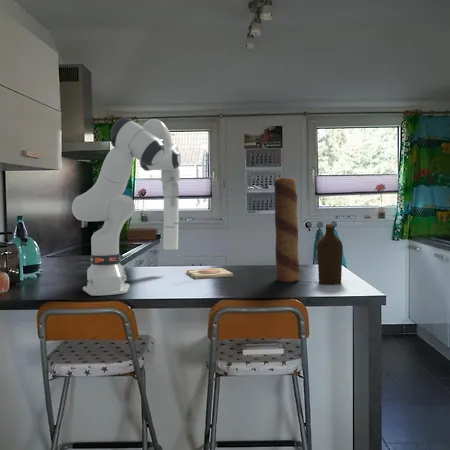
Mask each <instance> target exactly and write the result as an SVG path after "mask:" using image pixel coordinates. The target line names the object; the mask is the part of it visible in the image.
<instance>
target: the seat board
mask: <svg viewBox="0 0 450 450" xmlns="http://www.w3.org/2000/svg"><path fill="white" fill-rule="evenodd" d="M187 273H188V275H189V274H190V275H191V276H190V275H189V276H190V277H191V278H193V277H194V278H193V279H195V280H200V279H201V280H202V279H203V278H204V279H215V278H217V279H218V278H231V277H234V272H230V271H229V270H227V269H225V268H222V267H219V268H218V267H217V268H216V267H215V268H200V269H199V268H198V269H188V270H187V269H186V274H187Z"/></svg>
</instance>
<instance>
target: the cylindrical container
mask: <svg viewBox="0 0 450 450" xmlns="http://www.w3.org/2000/svg"><path fill="white" fill-rule="evenodd" d="M179 199H180V198H179V197H176V200H175V206H171V198H166V197H163V234H162V235H163V237H162V238H163V239H162V242H163V248H162V249H163V250H165V251H170V250H171V251H172V250H173V251H175V250H176V251H177V250H179V204H180V203H179Z"/></svg>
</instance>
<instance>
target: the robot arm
mask: <svg viewBox="0 0 450 450" xmlns="http://www.w3.org/2000/svg"><path fill="white" fill-rule="evenodd" d="M110 139H111V140H110V143H111V145H112V147H113V148H111V149H110V150H109V151H108V153H107V154H106V157H104V158H105V159H104V160H103V163H102V165H101V168H100V171H99V175H98V177H97V180H96V182H94V184H93V185H92V187H90V188H89V189H88V190H87V191H86V192H84V193H81V194H79V195H77V196H76V197H75V198H74V200H73V201H72V203H71V213H72V215H73V216H74V217H75V218H76V219H77V220H78V221H83V222H104V223H103V225H102V227H101V228H100V229H98V230H96V231H95V232H94V233H93V234H92V236H91V238H90V240H91V241H90V245H91V255H90V258H89V259H90V264H91V265H90V266H89V267H88V268H87V272H86V274H87V276H86V277H87V278H86V279H87V280H86V283H87V285H86V286H83V287H82V291H84V292H86V293H87V294H88V295H90V296H95V297H96V296H111V295H112V296H113V295H120V294H121V295H122V294H127V293H128V290H129V289H130V283H127V282H126V281H127V277H128V276H127V274H126V271H125V267H124V265H122V264H121V262H122V261H121V253H120V234H121V232H122V229H123V226H124V225H125V224H126V222H127V221H128V220H129V219H131V218H132V216H133V214H134V212H135V209H136V205H135V201H134V199H133V198H132V197H131V196H129V195H126V194H124V192H125V191H126V188H127V185H128V183H129V180H130V177H131V173H132V170H133V163H134V159H136V160H138V161H139V162H138V163H139V165H140V167H141V169H143V170H144V171H145V172H148V171H149V172H150V171H160V175H161V176H160V183H161V186H162V195H163V198H171V206H175V200H176V198H179V193H180V192H179V191H180V190H179V182H180V176H181V175H180V173H181V171H180V168H179V167H180V166H181V163H182V162H181V153H180V152H179V147H178V144H176V143H173V141H172V135H171V133H170V130H169V129H168V127H167V126H166V124H165V123H164V122H162V121H161V120H160V119H157V118H151V119H148V120H147V121H145V122H144V123H143V125H140V124H139V123H137V122H136V121H134V120H133V119H131V118H129V117H126V116H122V117H120V118H118V119H117V120H116V121H115V122H114V123H113V125H112V126H111V130H110ZM125 282H126V283H125Z"/></svg>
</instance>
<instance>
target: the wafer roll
mask: <svg viewBox="0 0 450 450" xmlns="http://www.w3.org/2000/svg"><path fill="white" fill-rule="evenodd" d="M274 225H275V226H274V227H275V248H274V249H275V266H276V267H275V268H276V280H277V281H278V282H288V283H292V282H297V281H298V280H300V263H299V262H300V261H299V228H298V194H297V181H296V179H295V178H294V177H280V178H278V177H277V178H275V181H274Z"/></svg>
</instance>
